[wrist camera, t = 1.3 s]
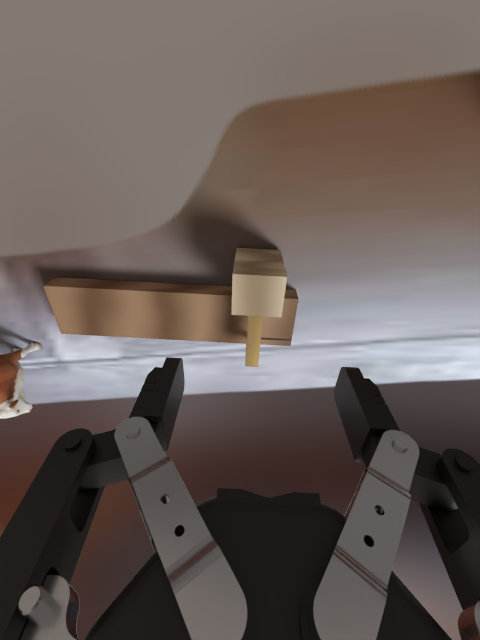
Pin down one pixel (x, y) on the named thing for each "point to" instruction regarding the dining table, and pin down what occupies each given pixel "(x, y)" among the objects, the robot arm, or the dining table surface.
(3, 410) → the bull figurine
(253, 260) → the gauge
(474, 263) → the dining table surface
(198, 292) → the board
